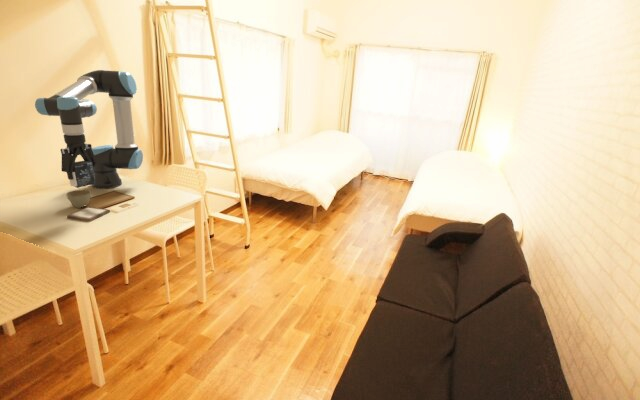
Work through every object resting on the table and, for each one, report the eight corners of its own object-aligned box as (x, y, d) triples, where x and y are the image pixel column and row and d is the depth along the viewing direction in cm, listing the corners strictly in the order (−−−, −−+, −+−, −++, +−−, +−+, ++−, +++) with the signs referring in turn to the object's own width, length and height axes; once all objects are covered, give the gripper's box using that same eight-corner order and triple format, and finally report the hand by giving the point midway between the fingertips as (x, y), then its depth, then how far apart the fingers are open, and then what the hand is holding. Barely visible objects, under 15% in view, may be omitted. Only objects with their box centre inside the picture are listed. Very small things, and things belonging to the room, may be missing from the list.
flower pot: (81, 210, 162) (78, 197, 160) (64, 208, 164) (61, 194, 161) (98, 204, 172) (95, 190, 169) (81, 201, 173) (79, 188, 171)
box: (77, 188, 149) (73, 165, 145) (70, 185, 151) (66, 163, 148) (96, 184, 155) (92, 162, 152) (89, 181, 158) (85, 160, 154)
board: (88, 208, 165) (88, 206, 165) (110, 211, 163) (109, 209, 163) (67, 218, 154) (66, 215, 153) (90, 221, 152) (89, 218, 152)
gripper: (86, 129, 156) (95, 175, 164) (42, 136, 136) (54, 188, 143) (101, 131, 155) (108, 177, 163) (58, 138, 135) (69, 190, 142)
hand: (83, 182), depth 153 cm, fingers closed on box, 9 cm apart
